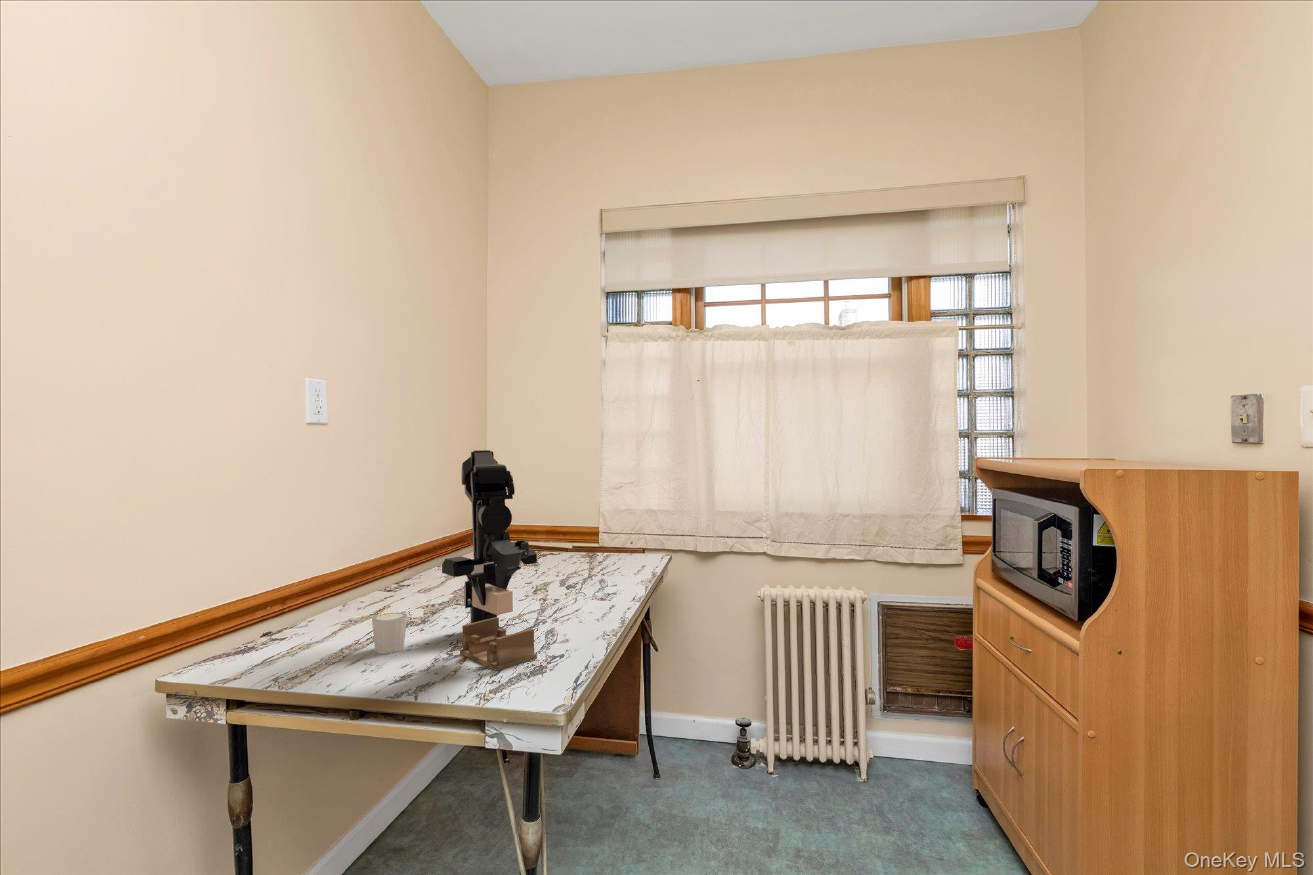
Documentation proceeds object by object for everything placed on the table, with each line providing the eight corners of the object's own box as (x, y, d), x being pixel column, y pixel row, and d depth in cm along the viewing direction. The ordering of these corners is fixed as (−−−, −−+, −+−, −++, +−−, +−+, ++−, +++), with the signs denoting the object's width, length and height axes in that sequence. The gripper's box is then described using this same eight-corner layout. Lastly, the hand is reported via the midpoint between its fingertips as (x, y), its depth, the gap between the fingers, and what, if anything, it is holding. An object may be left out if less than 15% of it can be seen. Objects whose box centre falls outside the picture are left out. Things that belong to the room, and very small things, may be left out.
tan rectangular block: (472, 605, 124) (472, 586, 124) (487, 602, 127) (487, 583, 127) (497, 615, 117) (496, 594, 117) (512, 611, 120) (512, 591, 120)
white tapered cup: (414, 646, 129) (414, 613, 130) (388, 656, 123) (387, 622, 123) (391, 642, 132) (391, 610, 133) (364, 652, 126) (364, 618, 126)
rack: (460, 653, 124) (459, 625, 124) (498, 642, 131) (497, 616, 131) (497, 670, 114) (497, 640, 114) (536, 658, 121) (536, 629, 121)
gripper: (467, 536, 110) (468, 621, 110) (551, 525, 123) (552, 601, 123) (440, 530, 118) (441, 609, 118) (522, 521, 131) (523, 592, 131)
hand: (491, 603), depth 122 cm, fingers closed on tan rectangular block, 3 cm apart
